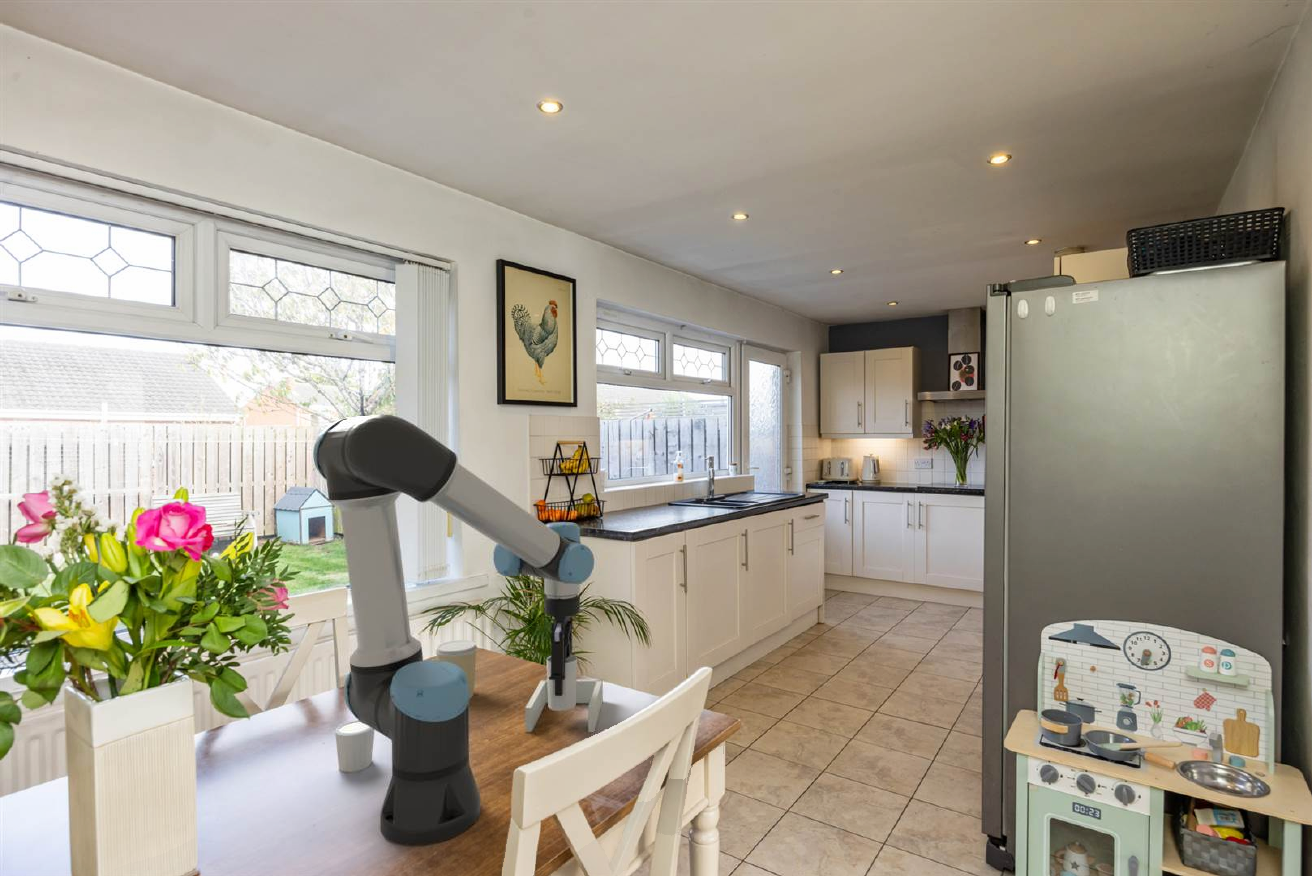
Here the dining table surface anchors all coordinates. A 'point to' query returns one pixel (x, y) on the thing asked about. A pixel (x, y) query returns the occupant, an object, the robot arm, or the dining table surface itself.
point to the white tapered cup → (354, 746)
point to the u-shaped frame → (584, 694)
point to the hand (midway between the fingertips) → (561, 704)
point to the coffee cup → (460, 658)
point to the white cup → (570, 682)
